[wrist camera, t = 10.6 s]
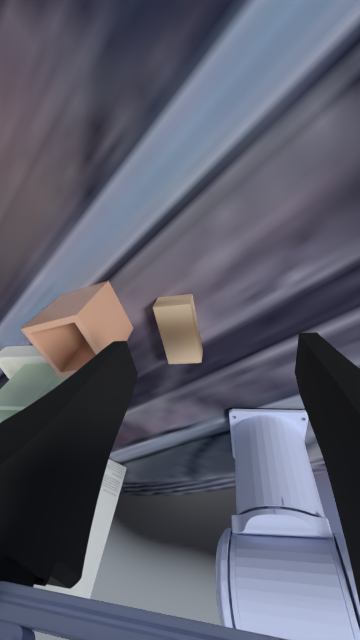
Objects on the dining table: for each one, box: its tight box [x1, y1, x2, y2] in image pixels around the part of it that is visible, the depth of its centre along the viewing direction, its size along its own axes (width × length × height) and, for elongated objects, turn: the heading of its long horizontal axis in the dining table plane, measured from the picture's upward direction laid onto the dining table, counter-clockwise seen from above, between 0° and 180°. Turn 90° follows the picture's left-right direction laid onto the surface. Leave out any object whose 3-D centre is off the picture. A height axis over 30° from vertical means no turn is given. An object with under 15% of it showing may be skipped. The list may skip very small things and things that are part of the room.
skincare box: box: [33, 459, 127, 599], centre depth 32 cm, size 8×7×16 cm
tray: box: [0, 345, 48, 380], centre depth 28 cm, size 9×9×2 cm
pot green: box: [0, 364, 70, 422], centre depth 26 cm, size 5×5×6 cm
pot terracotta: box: [21, 281, 133, 378], centre depth 20 cm, size 5×5×6 cm
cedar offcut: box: [153, 294, 203, 364], centre depth 22 cm, size 6×3×2 cm, turn 11°
